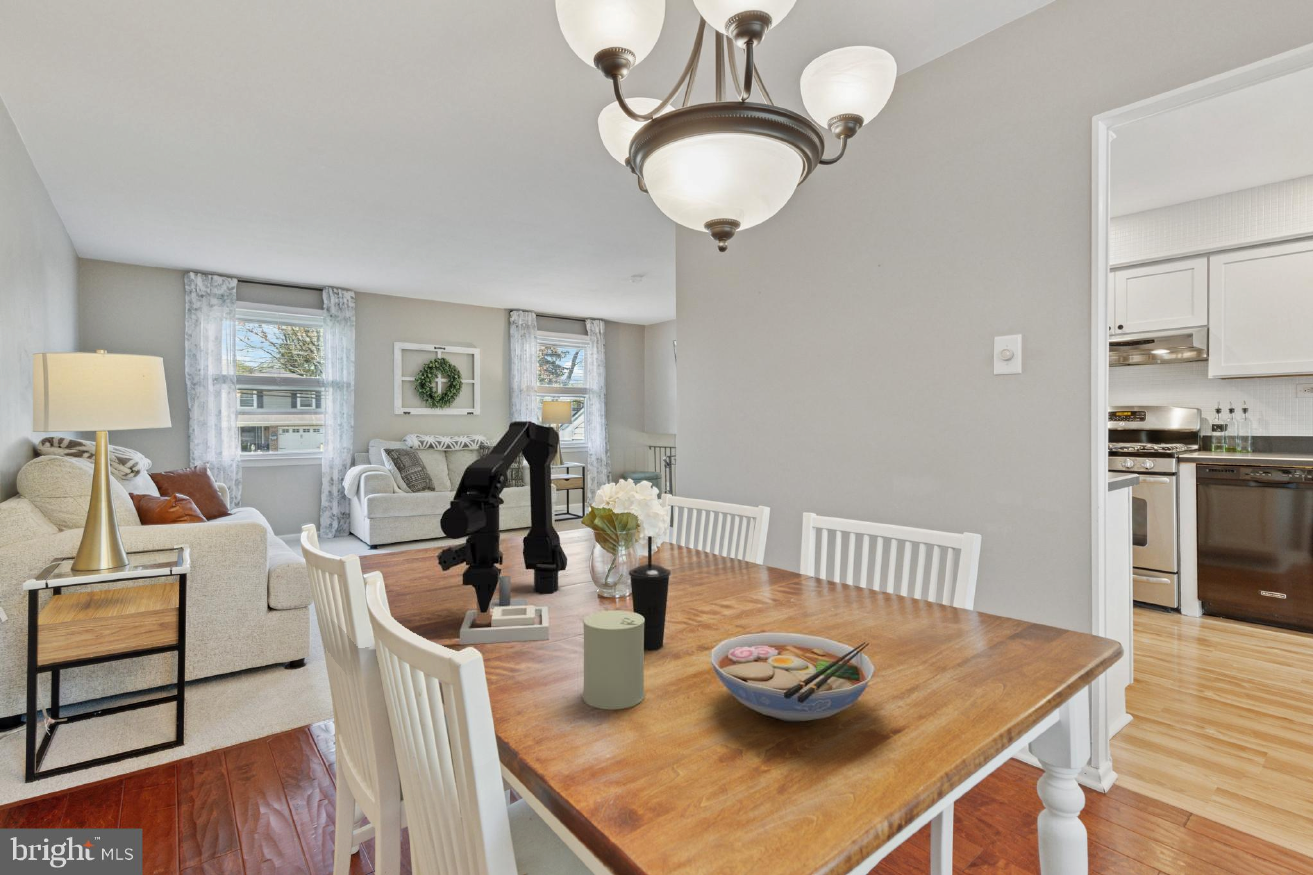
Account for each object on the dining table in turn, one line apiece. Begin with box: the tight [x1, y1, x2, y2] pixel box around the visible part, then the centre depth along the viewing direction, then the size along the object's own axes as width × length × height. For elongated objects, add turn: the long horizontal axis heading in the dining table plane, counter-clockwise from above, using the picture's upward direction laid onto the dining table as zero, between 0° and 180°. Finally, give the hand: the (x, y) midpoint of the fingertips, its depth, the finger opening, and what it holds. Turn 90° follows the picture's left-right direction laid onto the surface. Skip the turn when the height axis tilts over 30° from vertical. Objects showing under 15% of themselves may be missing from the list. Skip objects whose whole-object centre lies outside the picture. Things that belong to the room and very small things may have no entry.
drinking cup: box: [628, 535, 672, 651], centre depth 115 cm, size 8×8×20 cm
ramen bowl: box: [710, 632, 876, 722], centre depth 89 cm, size 25×23×8 cm
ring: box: [475, 598, 536, 627], centre depth 123 cm, size 8×11×5 cm
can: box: [582, 609, 646, 711], centre depth 94 cm, size 9×9×12 cm
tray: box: [459, 606, 550, 646], centre depth 123 cm, size 13×16×2 cm
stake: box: [491, 575, 527, 609], centre depth 136 cm, size 9×9×7 cm
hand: (484, 610), depth 122 cm, fingers closed on ring, 2 cm apart
